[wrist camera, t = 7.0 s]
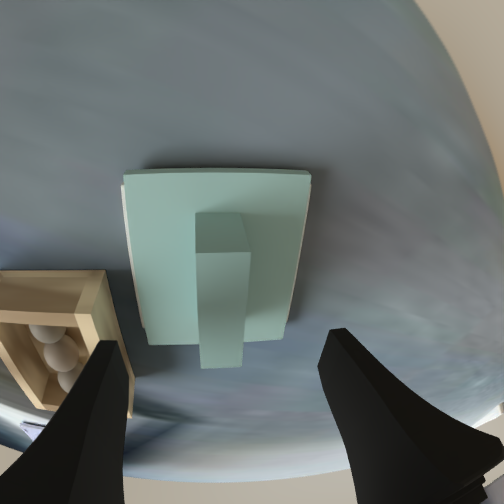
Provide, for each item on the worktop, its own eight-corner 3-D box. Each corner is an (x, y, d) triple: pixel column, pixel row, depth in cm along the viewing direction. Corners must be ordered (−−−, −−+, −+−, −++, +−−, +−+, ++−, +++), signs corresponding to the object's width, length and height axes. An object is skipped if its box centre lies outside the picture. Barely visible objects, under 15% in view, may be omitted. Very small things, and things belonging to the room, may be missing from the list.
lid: (279, 331, 18) (295, 381, 15) (149, 336, 17) (145, 390, 14) (306, 170, 13) (340, 205, 10) (126, 170, 12) (103, 207, 9)
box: (135, 378, 19) (131, 418, 17) (46, 372, 18) (36, 408, 15) (105, 269, 15) (90, 314, 12) (-3, 270, 13) (-27, 307, 11)
